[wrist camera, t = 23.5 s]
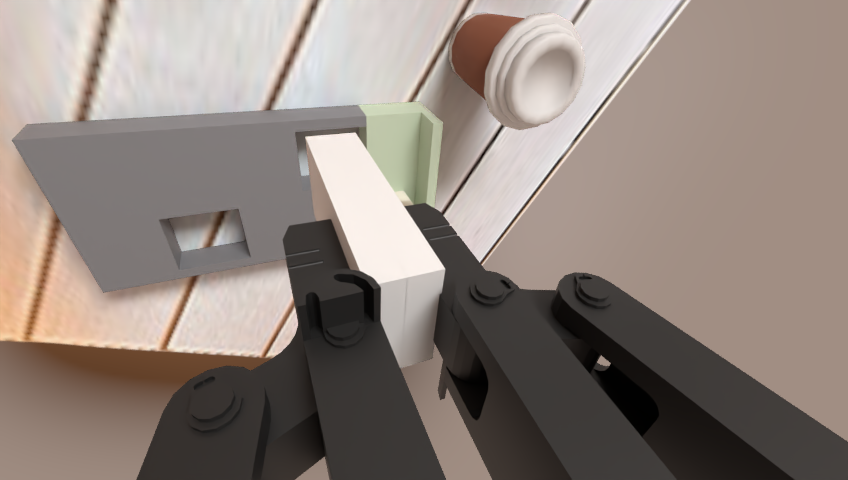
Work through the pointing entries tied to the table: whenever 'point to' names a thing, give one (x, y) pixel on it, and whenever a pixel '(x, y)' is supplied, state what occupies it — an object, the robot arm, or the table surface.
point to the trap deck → (207, 180)
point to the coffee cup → (520, 65)
